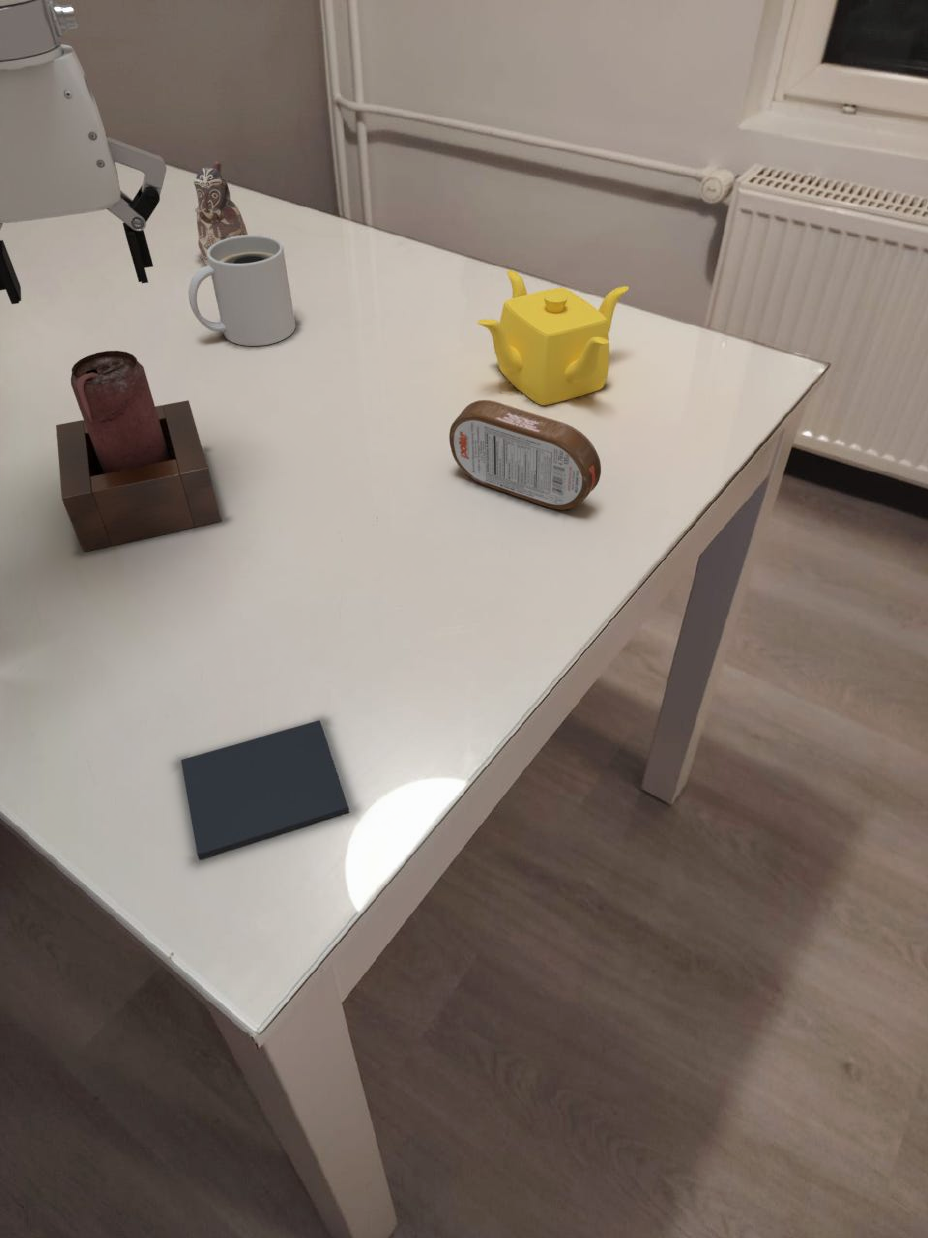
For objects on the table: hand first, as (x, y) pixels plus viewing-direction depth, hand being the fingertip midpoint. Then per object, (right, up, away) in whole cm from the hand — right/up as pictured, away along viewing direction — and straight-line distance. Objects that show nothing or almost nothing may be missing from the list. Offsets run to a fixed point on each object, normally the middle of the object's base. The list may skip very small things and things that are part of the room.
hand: (80, 286), depth 69 cm
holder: (0, -15, +14) cm, 21 cm away
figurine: (-4, +25, +55) cm, 61 cm away
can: (0, -15, +15) cm, 21 cm away
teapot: (+41, +1, +31) cm, 51 cm away
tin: (+36, -14, +15) cm, 42 cm away
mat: (+17, -38, -9) cm, 43 cm away
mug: (+4, +9, +39) cm, 40 cm away
